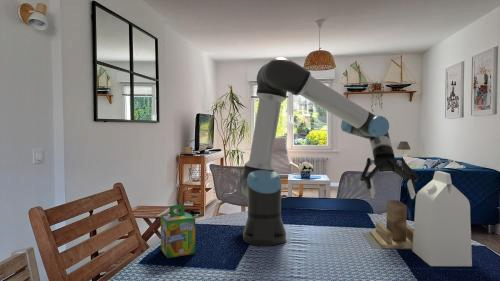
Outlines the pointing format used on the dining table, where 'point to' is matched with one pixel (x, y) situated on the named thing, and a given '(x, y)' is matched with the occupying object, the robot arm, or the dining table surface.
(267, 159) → the robot arm
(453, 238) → the milk
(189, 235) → the chalk box
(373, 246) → the mat
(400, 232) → the brown wooden block
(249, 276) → the dining table surface
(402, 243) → the rack
